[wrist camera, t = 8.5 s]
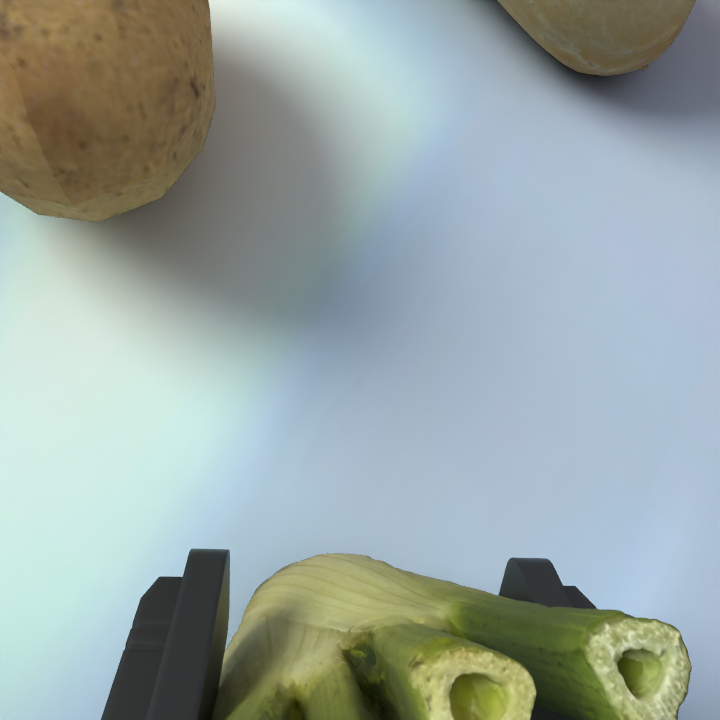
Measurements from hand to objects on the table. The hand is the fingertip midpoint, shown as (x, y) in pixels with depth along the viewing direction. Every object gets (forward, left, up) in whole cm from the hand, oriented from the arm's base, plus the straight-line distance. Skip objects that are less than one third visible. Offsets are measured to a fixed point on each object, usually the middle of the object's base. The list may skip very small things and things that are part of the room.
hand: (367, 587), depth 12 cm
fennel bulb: (-1, -1, -6) cm, 6 cm away
